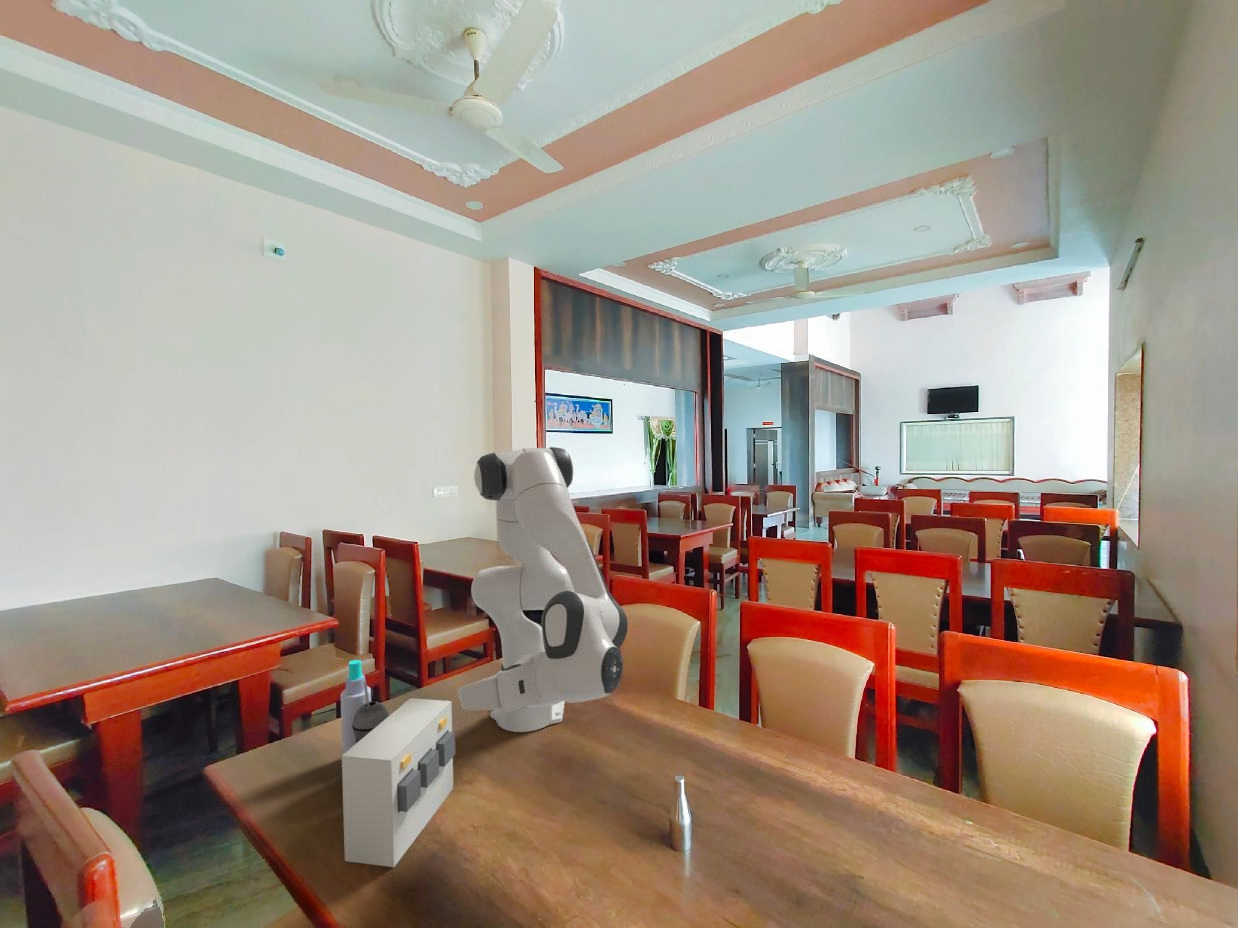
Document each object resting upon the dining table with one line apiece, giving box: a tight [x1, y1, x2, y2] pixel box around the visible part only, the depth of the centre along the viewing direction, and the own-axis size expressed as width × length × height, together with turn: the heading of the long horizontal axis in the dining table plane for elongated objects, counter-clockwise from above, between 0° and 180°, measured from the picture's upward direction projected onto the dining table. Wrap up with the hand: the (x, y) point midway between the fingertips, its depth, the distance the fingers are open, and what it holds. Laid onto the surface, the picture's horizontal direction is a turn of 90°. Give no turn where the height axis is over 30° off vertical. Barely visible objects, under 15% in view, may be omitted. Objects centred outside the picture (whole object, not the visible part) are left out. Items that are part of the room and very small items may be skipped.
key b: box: [436, 731, 456, 767], centre depth 107 cm, size 4×4×4 cm
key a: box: [397, 770, 421, 812], centre depth 94 cm, size 4×4×4 cm
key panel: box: [341, 697, 454, 868], centre depth 101 cm, size 21×9×18 cm, turn 170°
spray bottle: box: [340, 659, 372, 756], centre depth 121 cm, size 6×6×22 cm
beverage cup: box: [352, 681, 390, 743], centre depth 115 cm, size 7×7×20 cm
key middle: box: [418, 749, 439, 788], centre depth 100 cm, size 4×4×4 cm
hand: (478, 686), depth 102 cm, fingers open, 8 cm apart
